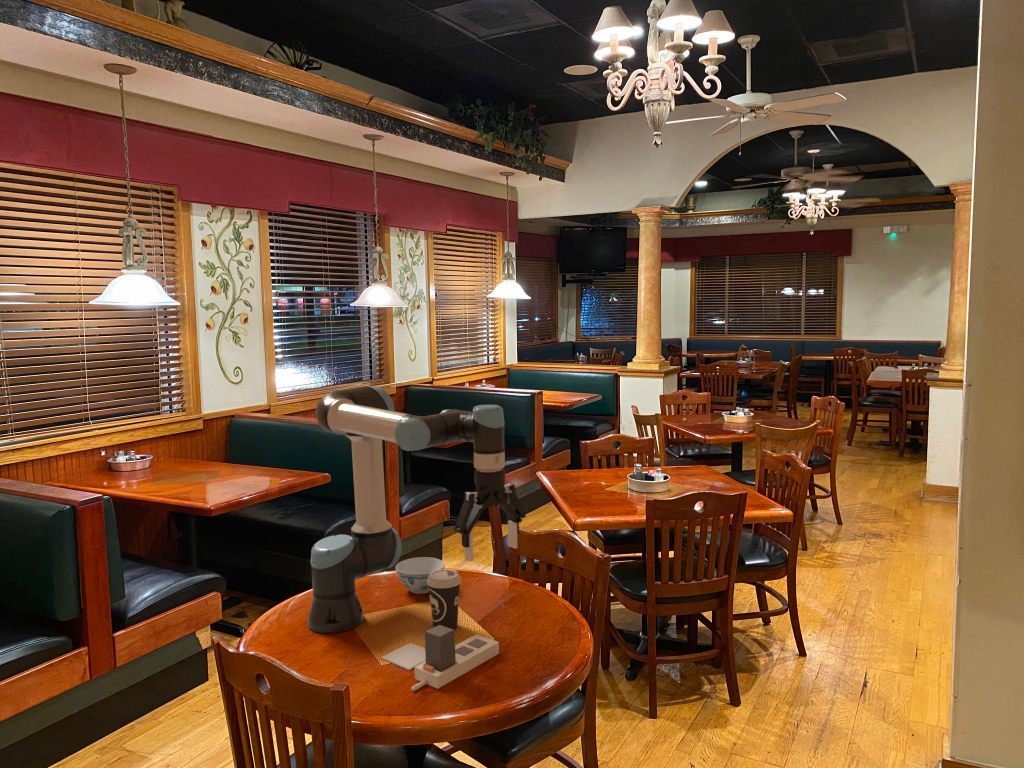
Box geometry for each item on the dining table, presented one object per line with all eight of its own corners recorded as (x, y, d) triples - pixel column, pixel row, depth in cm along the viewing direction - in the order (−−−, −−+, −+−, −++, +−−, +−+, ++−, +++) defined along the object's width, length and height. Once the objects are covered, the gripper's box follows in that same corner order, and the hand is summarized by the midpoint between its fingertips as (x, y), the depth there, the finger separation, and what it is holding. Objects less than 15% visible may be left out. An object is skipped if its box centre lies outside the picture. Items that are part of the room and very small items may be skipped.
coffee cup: (457, 636, 203) (456, 581, 201) (423, 633, 205) (421, 579, 203) (466, 621, 212) (465, 568, 211) (433, 618, 214) (432, 567, 212)
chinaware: (397, 601, 227) (397, 576, 226) (395, 583, 242) (394, 559, 241) (448, 596, 230) (447, 571, 229) (442, 578, 245) (441, 555, 244)
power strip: (423, 697, 172) (422, 681, 172) (400, 686, 177) (400, 671, 176) (499, 653, 193) (498, 639, 192) (476, 645, 197) (476, 631, 197)
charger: (425, 668, 181) (424, 631, 180) (440, 660, 185) (439, 624, 184) (441, 674, 178) (439, 637, 177) (455, 666, 182) (454, 629, 181)
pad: (381, 658, 191) (381, 657, 191) (410, 644, 199) (410, 642, 198) (408, 670, 185) (408, 668, 184) (437, 655, 192) (437, 653, 192)
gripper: (456, 479, 175) (458, 569, 177) (538, 463, 191) (539, 545, 193) (438, 474, 181) (440, 560, 183) (519, 458, 196) (520, 538, 199)
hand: (491, 553), depth 188 cm, fingers open, 13 cm apart
